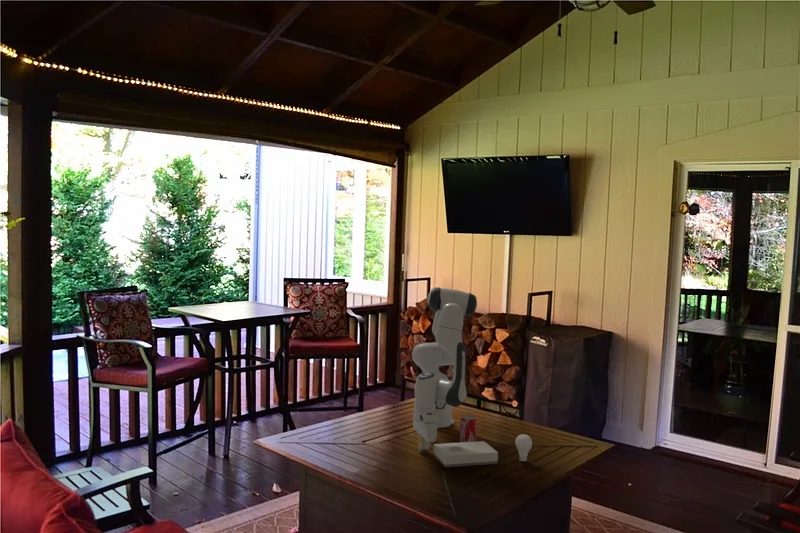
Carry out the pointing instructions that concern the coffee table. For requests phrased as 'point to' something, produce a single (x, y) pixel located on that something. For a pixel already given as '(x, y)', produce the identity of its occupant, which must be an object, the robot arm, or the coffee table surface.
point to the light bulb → (523, 446)
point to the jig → (465, 454)
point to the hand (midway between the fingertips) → (423, 445)
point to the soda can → (468, 429)
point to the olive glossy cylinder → (422, 446)
